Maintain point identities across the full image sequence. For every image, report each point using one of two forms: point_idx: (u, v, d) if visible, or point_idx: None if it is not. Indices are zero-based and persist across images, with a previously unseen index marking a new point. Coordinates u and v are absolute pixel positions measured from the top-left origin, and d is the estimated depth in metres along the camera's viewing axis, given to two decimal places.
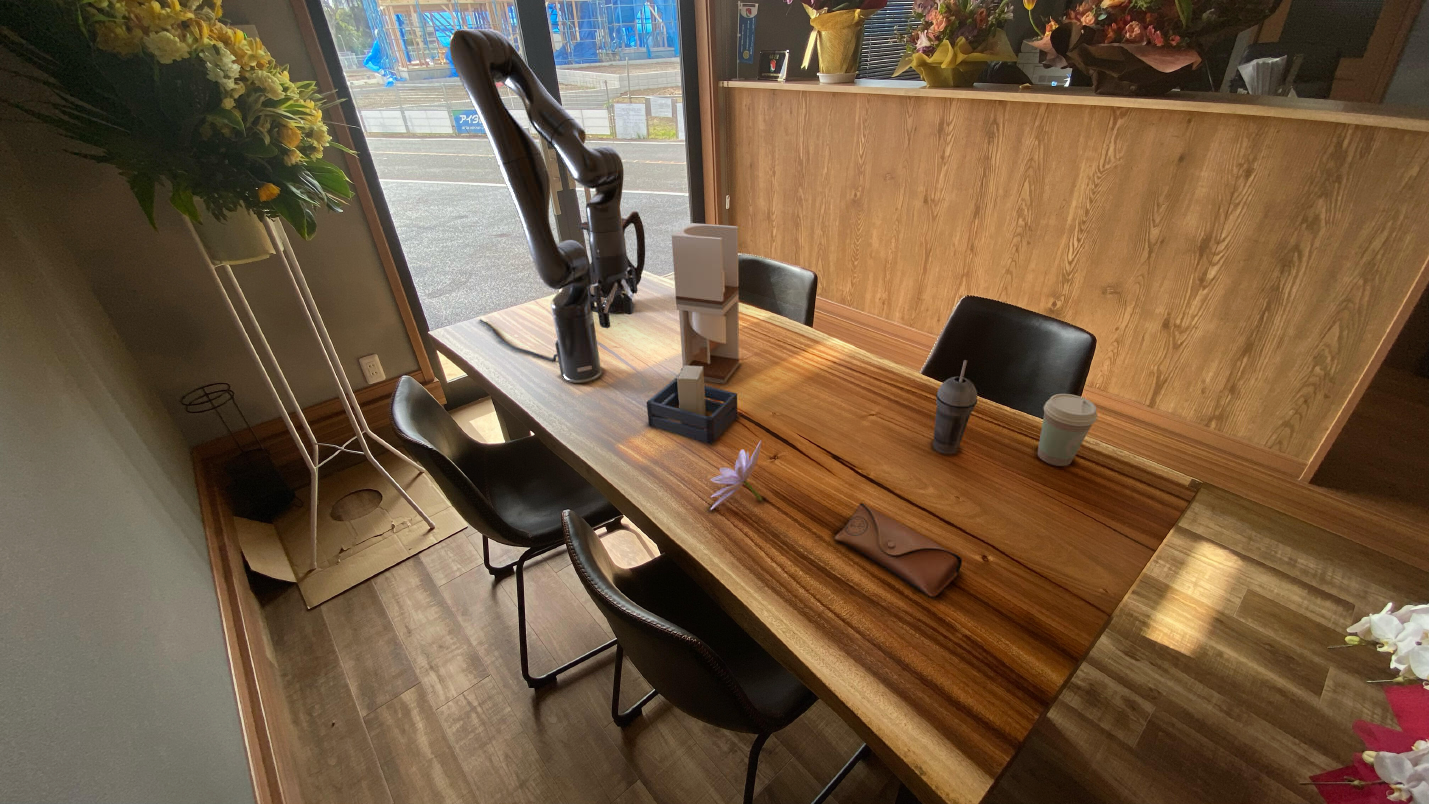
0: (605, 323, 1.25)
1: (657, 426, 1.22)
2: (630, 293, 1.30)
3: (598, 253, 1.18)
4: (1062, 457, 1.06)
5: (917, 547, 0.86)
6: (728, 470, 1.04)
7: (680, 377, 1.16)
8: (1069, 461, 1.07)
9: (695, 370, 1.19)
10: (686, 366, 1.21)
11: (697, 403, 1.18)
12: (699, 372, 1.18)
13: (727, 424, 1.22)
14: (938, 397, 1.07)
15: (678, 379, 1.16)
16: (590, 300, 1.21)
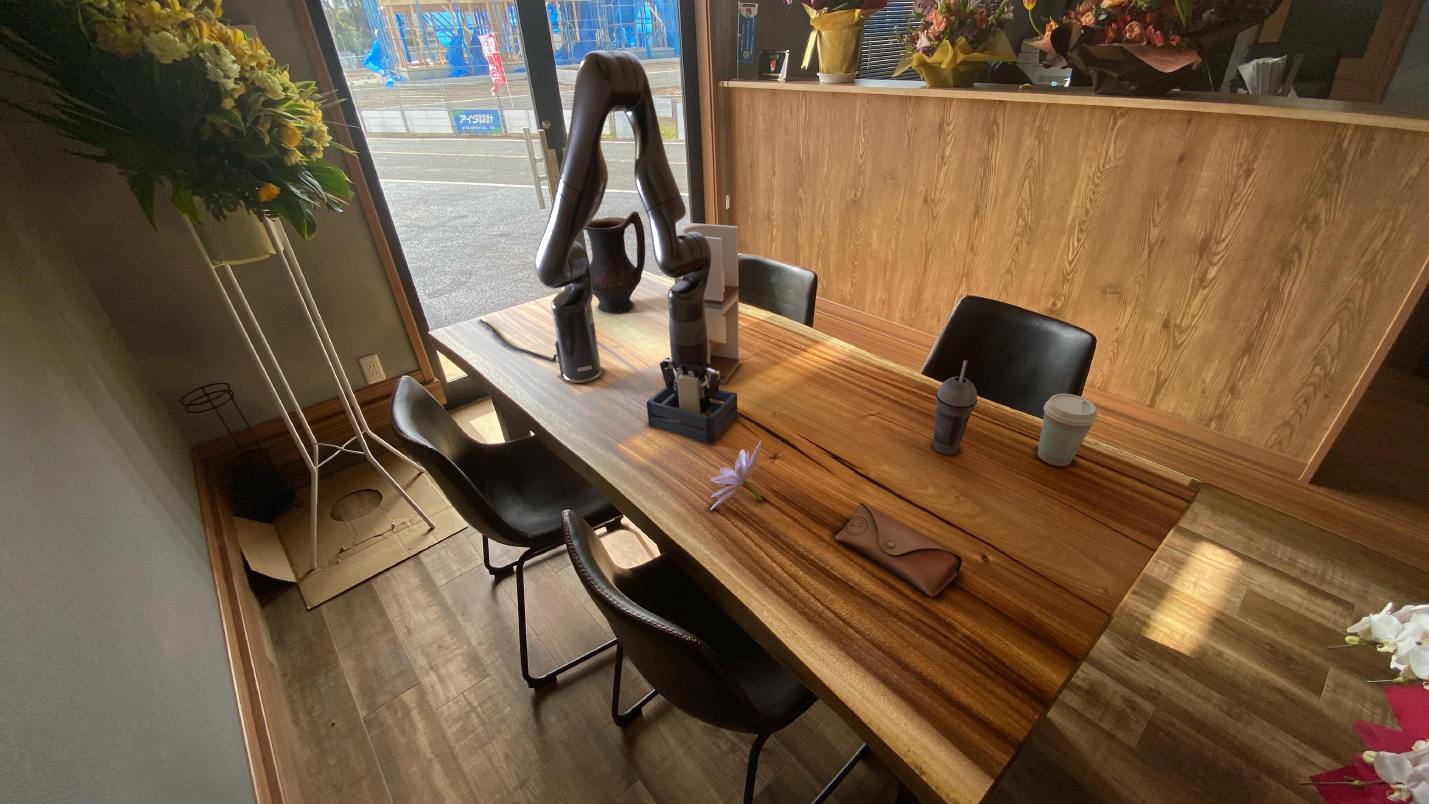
0: (676, 400, 1.23)
1: (657, 426, 1.22)
2: (700, 393, 1.18)
3: None
4: (1062, 457, 1.06)
5: (917, 547, 0.86)
6: (728, 470, 1.04)
7: (680, 377, 1.16)
8: (1069, 461, 1.07)
9: None
10: None
11: (697, 403, 1.18)
12: None
13: (727, 424, 1.22)
14: (938, 397, 1.07)
15: (678, 379, 1.16)
16: None
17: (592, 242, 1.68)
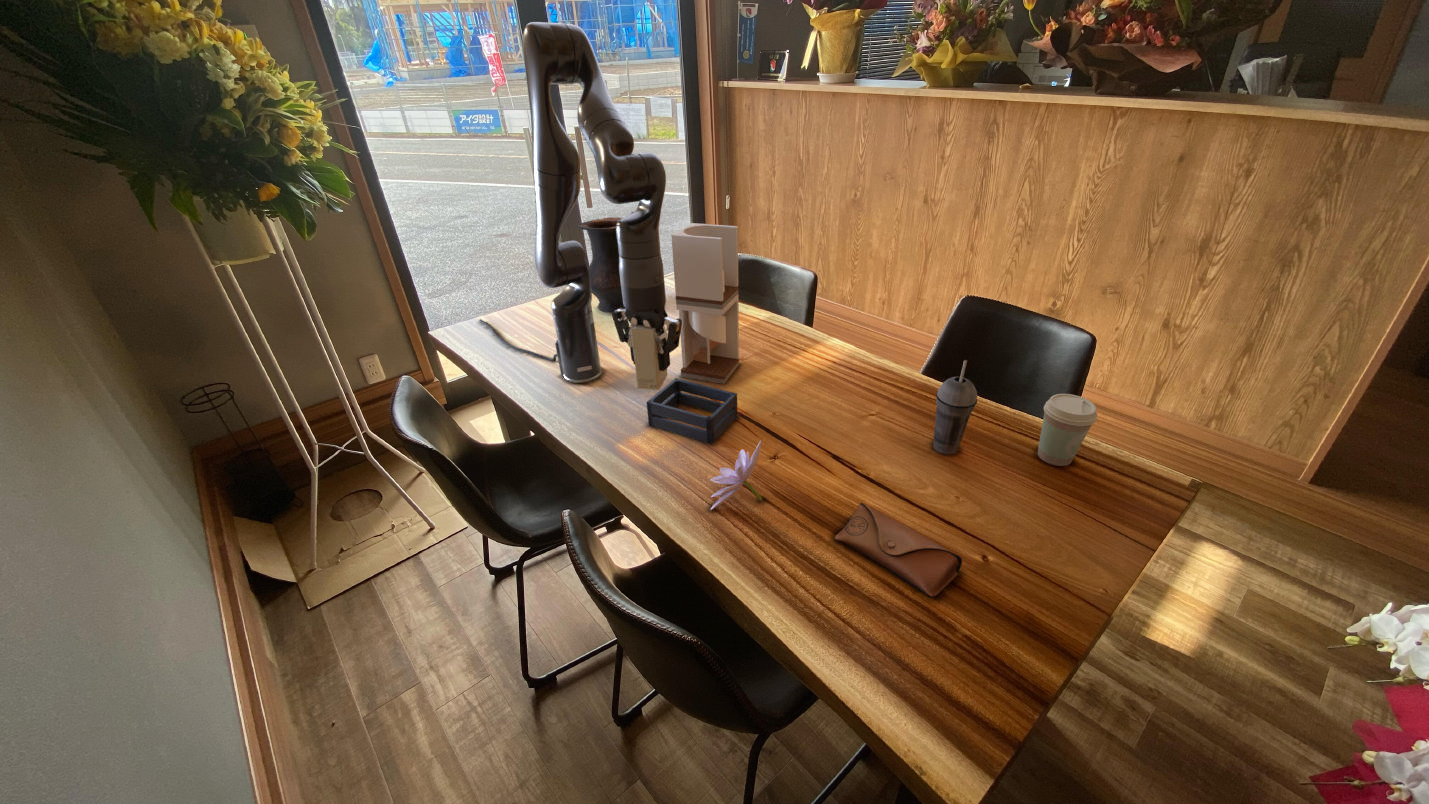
0: (632, 357, 1.08)
1: (657, 426, 1.22)
2: (658, 347, 1.03)
3: None
4: (1062, 457, 1.06)
5: (917, 547, 0.86)
6: (728, 470, 1.04)
7: (634, 328, 1.01)
8: (1069, 461, 1.07)
9: None
10: None
11: (655, 358, 1.03)
12: None
13: (727, 424, 1.22)
14: (938, 397, 1.07)
15: (632, 330, 1.01)
16: None
17: (592, 242, 1.68)
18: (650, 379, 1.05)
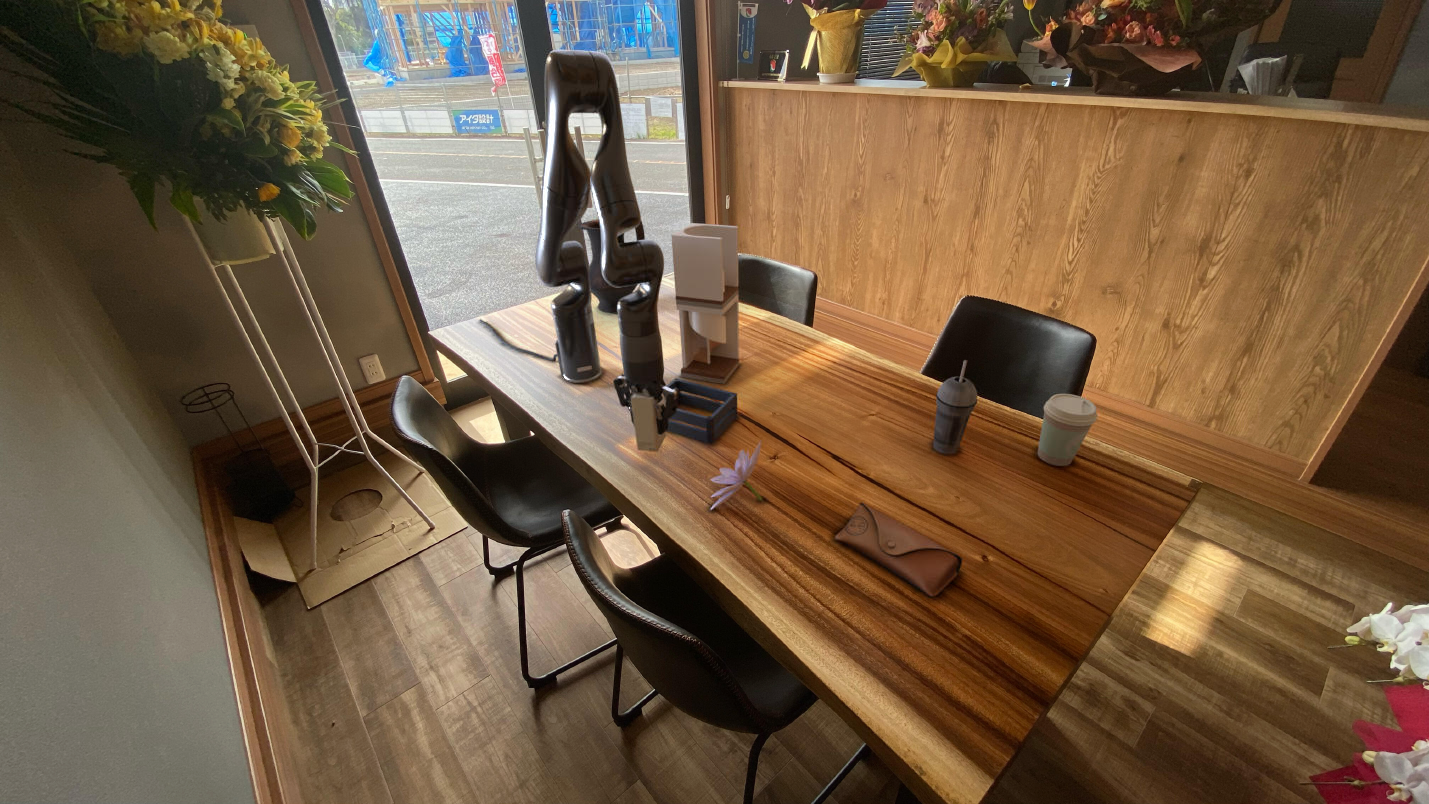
0: (633, 420, 1.13)
1: None
2: (657, 413, 1.08)
3: None
4: (1062, 457, 1.06)
5: (917, 547, 0.86)
6: (728, 470, 1.04)
7: (634, 396, 1.07)
8: (1069, 461, 1.07)
9: None
10: None
11: (654, 424, 1.08)
12: None
13: (727, 424, 1.22)
14: (938, 397, 1.07)
15: (632, 398, 1.06)
16: None
17: (592, 242, 1.68)
18: (649, 443, 1.11)
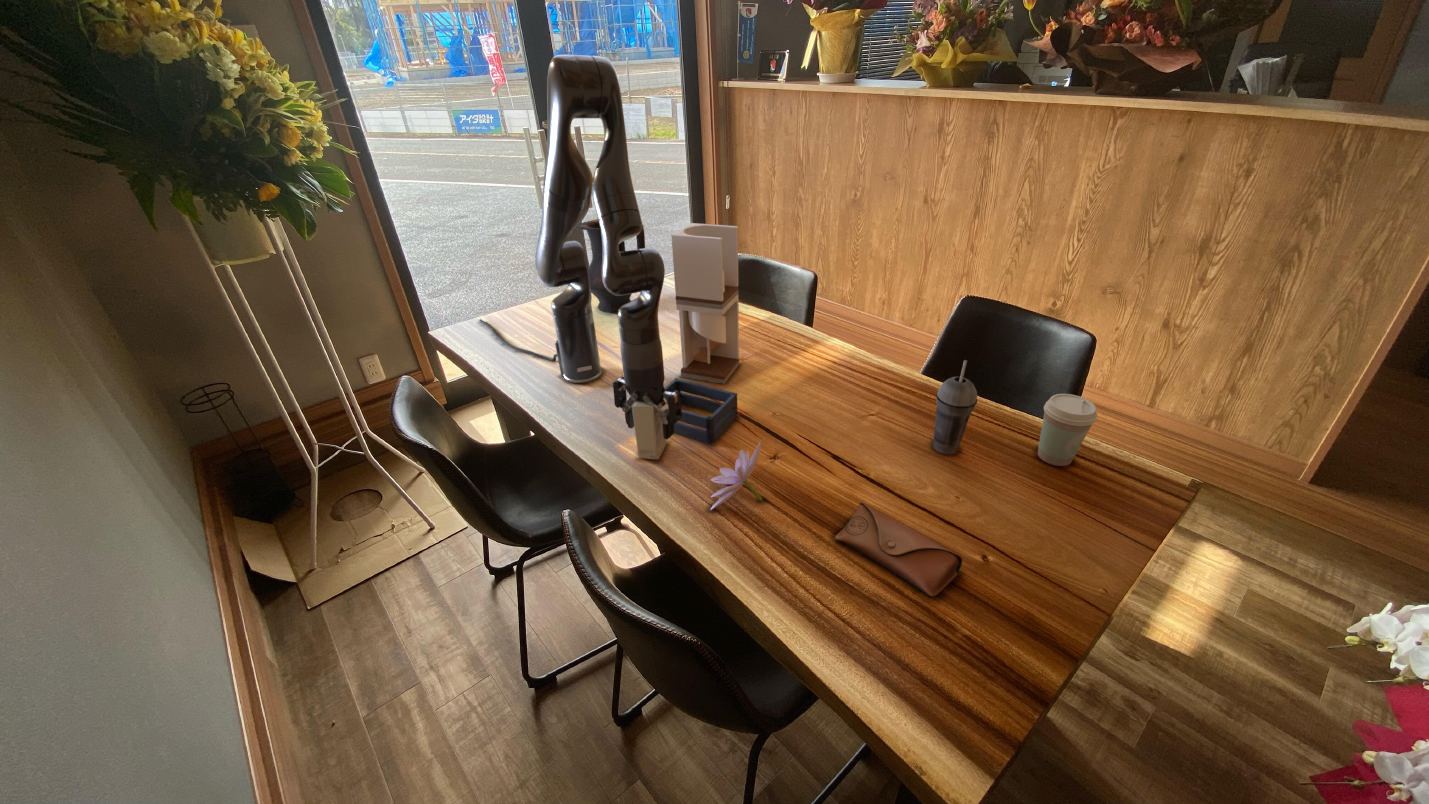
0: (627, 421, 1.14)
1: None
2: (663, 418, 1.08)
3: None
4: (1062, 457, 1.06)
5: (917, 547, 0.86)
6: (728, 470, 1.04)
7: (635, 405, 1.08)
8: (1069, 461, 1.07)
9: None
10: None
11: (654, 432, 1.09)
12: None
13: (727, 424, 1.22)
14: (938, 397, 1.07)
15: (633, 407, 1.07)
16: None
17: (592, 242, 1.68)
18: (650, 450, 1.12)
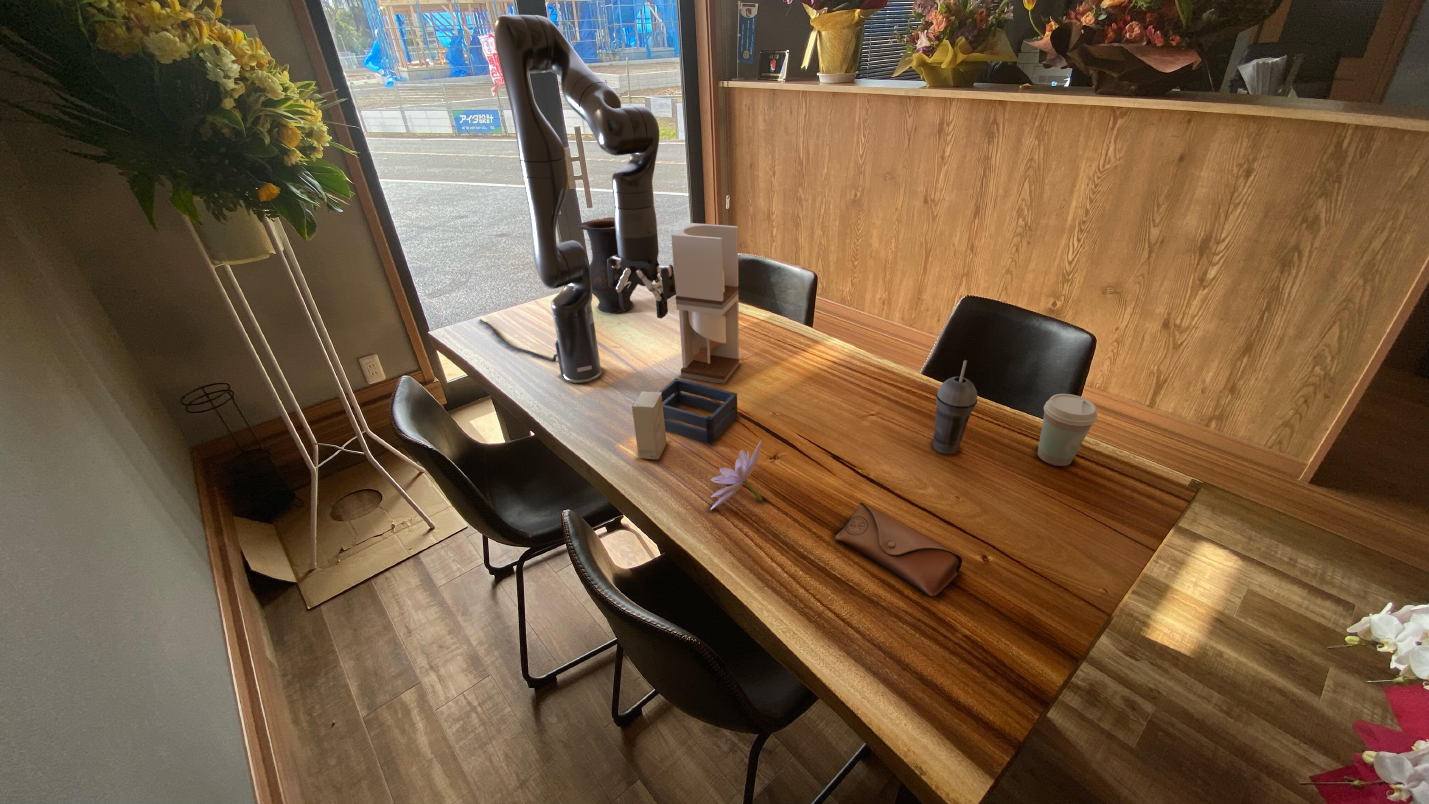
0: (621, 303, 1.13)
1: None
2: (656, 294, 1.07)
3: None
4: (1062, 457, 1.06)
5: (917, 547, 0.86)
6: (728, 470, 1.04)
7: (635, 405, 1.08)
8: (1069, 461, 1.07)
9: (652, 397, 1.10)
10: (643, 392, 1.12)
11: (654, 432, 1.09)
12: (656, 399, 1.09)
13: (727, 424, 1.22)
14: (938, 397, 1.07)
15: (633, 407, 1.07)
16: None
17: (592, 242, 1.68)
18: (650, 450, 1.12)
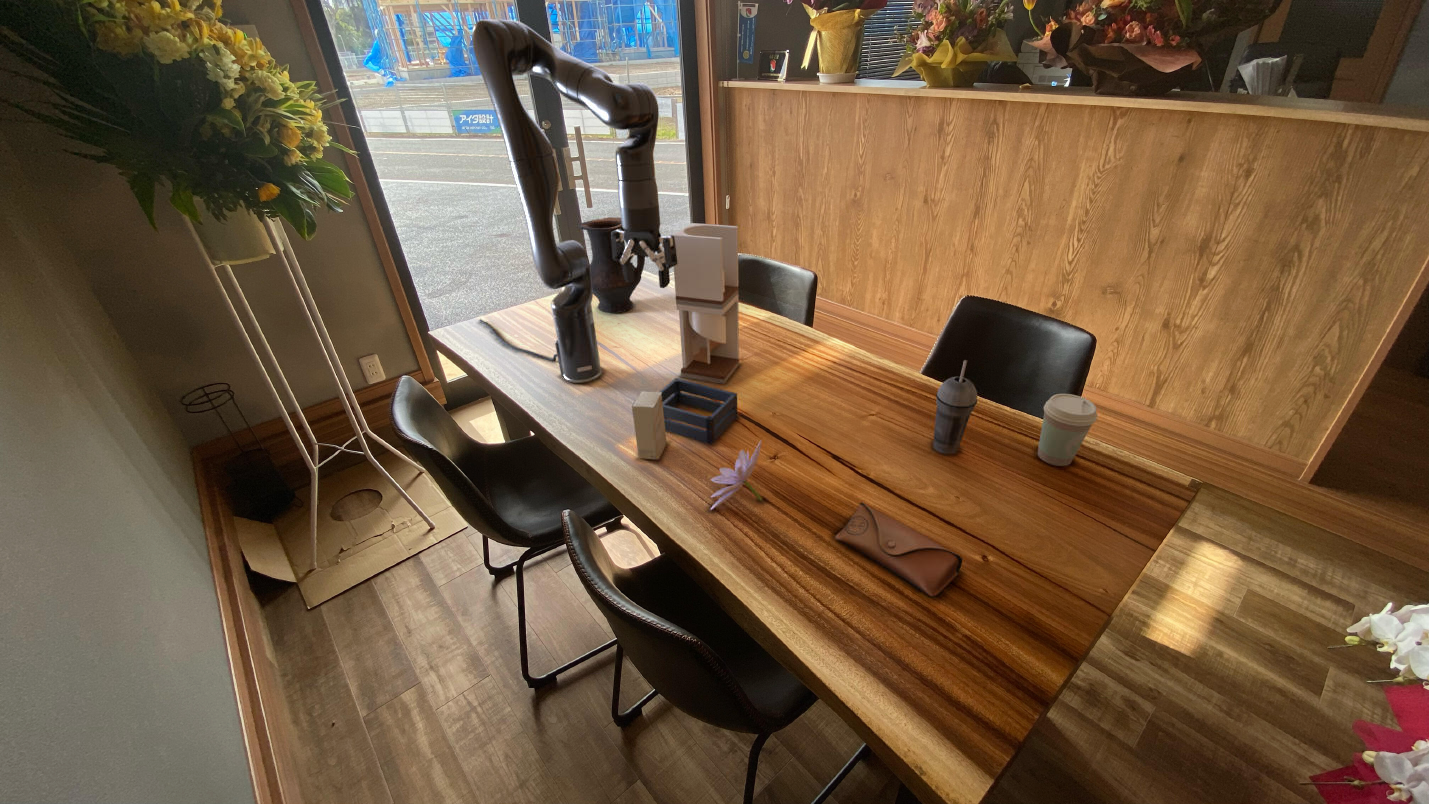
0: (624, 275, 1.19)
1: None
2: (659, 263, 1.12)
3: None
4: (1062, 457, 1.06)
5: (917, 547, 0.86)
6: (728, 470, 1.04)
7: (635, 405, 1.08)
8: (1069, 461, 1.07)
9: (652, 397, 1.10)
10: (643, 392, 1.12)
11: (654, 432, 1.09)
12: (656, 399, 1.09)
13: (727, 424, 1.22)
14: (938, 397, 1.07)
15: (633, 407, 1.07)
16: None
17: (592, 242, 1.68)
18: (650, 450, 1.12)
